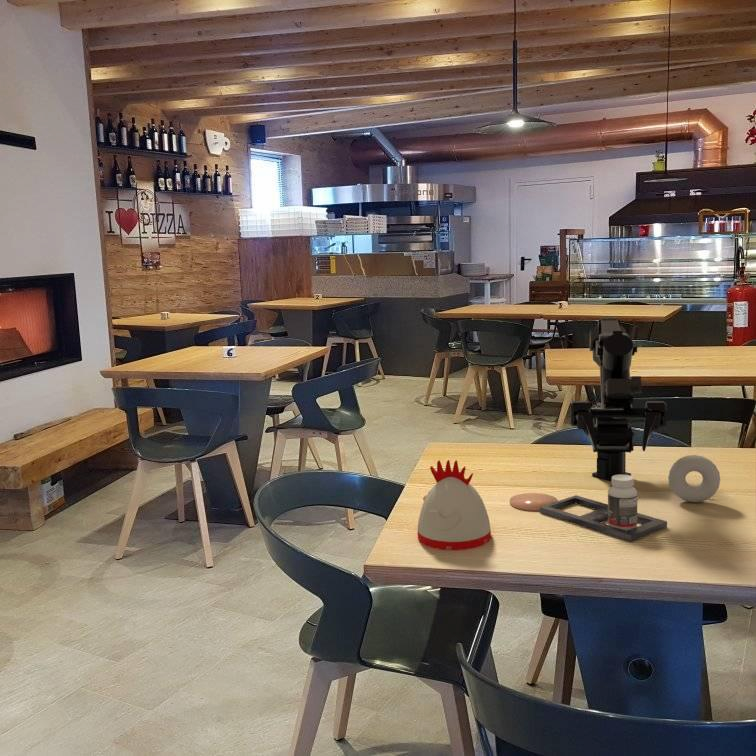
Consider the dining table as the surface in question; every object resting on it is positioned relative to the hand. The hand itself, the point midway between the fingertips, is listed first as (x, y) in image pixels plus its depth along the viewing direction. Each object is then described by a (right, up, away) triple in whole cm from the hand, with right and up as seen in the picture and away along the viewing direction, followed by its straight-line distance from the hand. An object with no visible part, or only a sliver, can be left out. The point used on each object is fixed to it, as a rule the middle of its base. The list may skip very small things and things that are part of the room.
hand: (619, 449), depth 158 cm
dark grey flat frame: (-4, -14, -1) cm, 14 cm away
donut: (+17, -12, +7) cm, 22 cm away
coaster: (-15, -12, +11) cm, 22 cm away
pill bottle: (-1, -14, -5) cm, 15 cm away
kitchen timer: (-33, -16, -6) cm, 38 cm away
